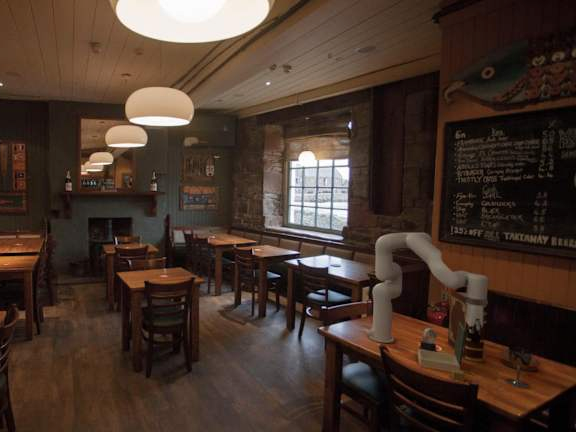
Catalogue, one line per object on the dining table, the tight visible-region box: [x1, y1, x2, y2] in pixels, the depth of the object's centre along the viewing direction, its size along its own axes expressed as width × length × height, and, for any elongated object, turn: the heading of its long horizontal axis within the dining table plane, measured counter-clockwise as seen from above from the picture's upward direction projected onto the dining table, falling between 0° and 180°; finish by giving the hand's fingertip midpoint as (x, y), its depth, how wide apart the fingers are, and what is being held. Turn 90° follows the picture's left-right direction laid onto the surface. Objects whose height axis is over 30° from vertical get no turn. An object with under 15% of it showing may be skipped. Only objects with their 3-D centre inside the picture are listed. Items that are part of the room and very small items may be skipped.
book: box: [417, 348, 461, 373], centre depth 187 cm, size 16×13×4 cm
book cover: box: [453, 322, 472, 366], centre depth 181 cm, size 16×13×5 cm
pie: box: [498, 350, 542, 372], centre depth 186 cm, size 16×16×5 cm
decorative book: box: [447, 289, 489, 363], centre depth 200 cm, size 22×8×30 cm, turn 168°
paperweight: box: [451, 369, 465, 382], centre depth 172 cm, size 4×4×4 cm
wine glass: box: [506, 346, 533, 389], centre depth 168 cm, size 8×8×15 cm
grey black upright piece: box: [419, 327, 438, 352], centre depth 204 cm, size 6×8×11 cm
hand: (473, 339), depth 180 cm, fingers closed on book cover, 5 cm apart
